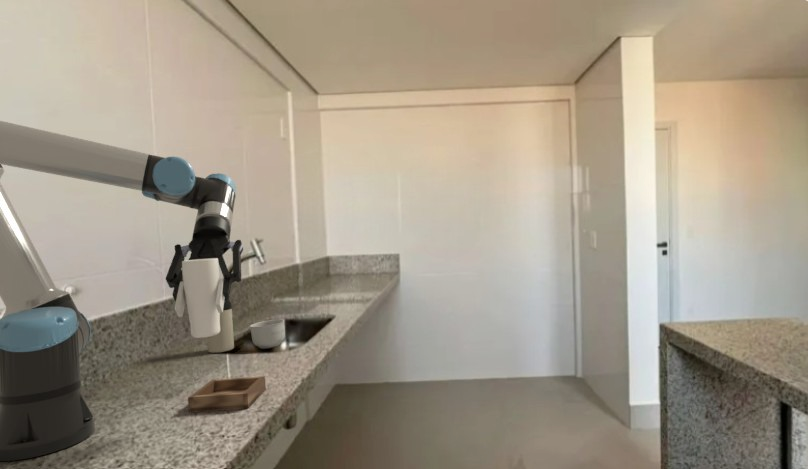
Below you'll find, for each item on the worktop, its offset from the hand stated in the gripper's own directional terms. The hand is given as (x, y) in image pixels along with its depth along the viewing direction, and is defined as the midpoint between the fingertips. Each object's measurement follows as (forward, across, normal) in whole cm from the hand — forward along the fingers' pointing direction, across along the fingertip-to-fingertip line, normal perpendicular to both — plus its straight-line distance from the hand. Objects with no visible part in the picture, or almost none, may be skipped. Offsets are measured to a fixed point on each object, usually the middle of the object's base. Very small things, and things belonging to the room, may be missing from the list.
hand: (199, 310), depth 89 cm
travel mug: (-31, +12, -62) cm, 71 cm away
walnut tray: (+7, -2, -23) cm, 24 cm away
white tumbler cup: (+1, 0, -6) cm, 7 cm away
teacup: (-31, -3, -63) cm, 70 cm away
